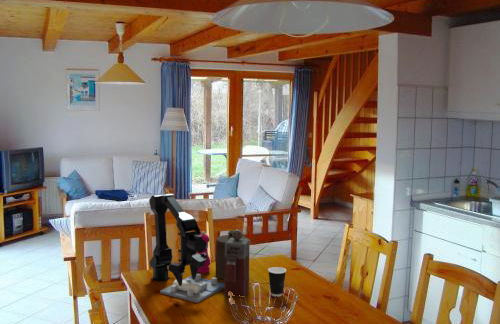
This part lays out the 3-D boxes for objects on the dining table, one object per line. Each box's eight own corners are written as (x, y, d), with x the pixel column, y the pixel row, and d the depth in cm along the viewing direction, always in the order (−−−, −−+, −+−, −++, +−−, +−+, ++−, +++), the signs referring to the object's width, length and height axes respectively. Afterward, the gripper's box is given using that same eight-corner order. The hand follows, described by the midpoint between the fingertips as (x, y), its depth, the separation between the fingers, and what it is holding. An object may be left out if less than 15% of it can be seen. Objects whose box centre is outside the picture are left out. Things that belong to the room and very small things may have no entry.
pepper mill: (208, 273, 242) (208, 233, 240) (193, 272, 244) (193, 232, 241) (212, 269, 249) (212, 229, 247) (198, 268, 251) (198, 229, 248)
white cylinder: (173, 290, 218) (172, 282, 216) (179, 285, 221) (177, 277, 220) (195, 296, 212) (194, 287, 210) (201, 291, 215) (199, 282, 214)
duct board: (160, 293, 216) (160, 284, 216) (191, 278, 235) (191, 271, 235) (197, 302, 206) (197, 294, 206) (227, 286, 225) (227, 278, 225)
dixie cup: (267, 291, 221) (267, 266, 219) (285, 291, 221) (285, 267, 219) (267, 297, 213) (268, 272, 212) (286, 298, 213) (286, 273, 212)
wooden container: (252, 274, 243) (252, 229, 240) (235, 283, 230) (235, 236, 228) (227, 268, 251) (227, 225, 248) (209, 276, 238) (209, 231, 236)
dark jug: (222, 297, 212) (223, 233, 209) (229, 288, 223) (229, 226, 220) (243, 299, 210) (244, 234, 207) (248, 290, 221) (249, 228, 218)
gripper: (188, 255, 202) (188, 292, 204) (215, 245, 218) (215, 279, 220) (167, 251, 208) (167, 287, 209) (194, 241, 224) (194, 275, 225)
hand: (187, 282), depth 216 cm, fingers open, 9 cm apart
